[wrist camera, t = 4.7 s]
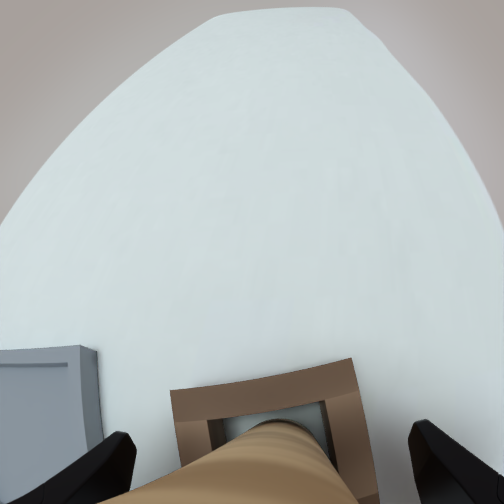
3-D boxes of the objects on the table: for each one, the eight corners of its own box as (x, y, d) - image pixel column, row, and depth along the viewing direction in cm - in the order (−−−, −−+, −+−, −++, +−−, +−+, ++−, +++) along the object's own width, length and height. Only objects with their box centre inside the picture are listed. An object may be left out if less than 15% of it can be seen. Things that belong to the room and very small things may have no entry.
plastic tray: (130, 554, 10) (116, 563, 8) (-2, 506, 10) (-17, 507, 8) (96, 351, 16) (79, 344, 15) (-19, 356, 17) (-33, 350, 15)
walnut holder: (366, 500, 11) (381, 518, 8) (215, 524, 11) (199, 545, 8) (340, 365, 15) (351, 357, 12) (190, 393, 15) (169, 390, 12)
